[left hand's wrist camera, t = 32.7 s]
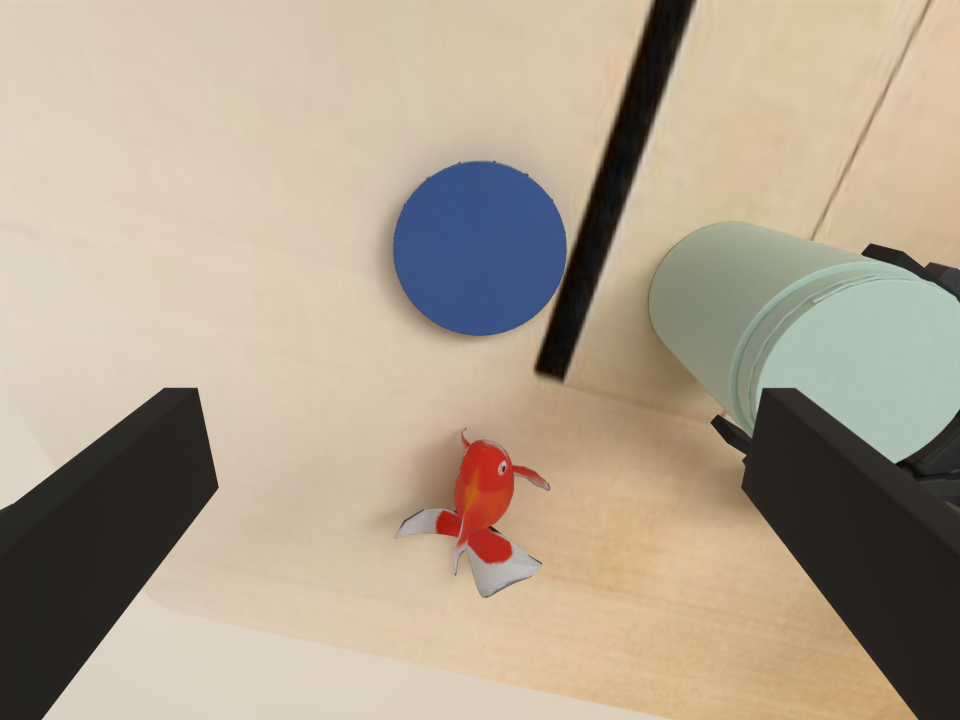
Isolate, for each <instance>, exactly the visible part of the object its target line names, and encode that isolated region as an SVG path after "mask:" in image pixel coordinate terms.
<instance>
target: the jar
mask: <svg viewBox="0 0 960 720" xmlns="http://www.w3.org/2000/svg"><path fill="white" fill-rule="evenodd" d="M648 307H649V315H650V319H651V323H652V326H653V328H654V331H655V332H656V334H657V336H658V337H659V339H660V340H661V341H662V342H663V344H664V345H665V346H666V347H667V348H668V349H669V350H670V351H671V352H672V354H673V355H674V356H675V357H676V358H677V359H678V360H679V361H680V362H681V363H682V364H683V365H684V366H685V368H686V369H687V370H688V371H689V372H690V373H691V374H692V375H693V376H694V377H695V378H696V379H697V381H698V382H699V383H700V384H701V385H702V386H703V387H704V388H705V389H706V390H707V391H708V392H709V393H710V395H711V396H712V397H713V398H714V399H715V400H716V401H717V402H718V403H719V404H720V405H721V406H722V408H723V409H724V410H725V411H726V412H727V413H728V414H729V415H730V416H731V417H732V418H733V419H734V421H735V422H736V423H737V424H738V425H739V426H740V427H741V428H742V429H743V430H744V431H745V432H746V433H747V435H748V436H750V437H751V438H752V435H753V430H754V426H755V421H756V416H757V411H758V407H759V402H760V397H761V393H762V388H796V389H798V390H799V391H800V392H802V393H803V394H804V395H806V396H807V397H808V398H809V399H811V400H812V401H813V402H815V403H816V404H817V405H819V406H820V407H821V408H822V409H824V410H825V411H826V412H828V413H829V414H830V415H832V416H833V417H834V418H835V419H837V420H838V421H839V422H841V423H842V424H843V425H845V426H846V427H847V428H849V429H850V430H851V431H852V432H854V433H855V434H856V435H858V436H859V437H860V438H862V439H863V440H864V441H865V442H867V443H868V444H869V445H871V446H872V447H873V448H875V449H876V450H877V451H878V452H880V453H881V454H882V455H884V456H885V457H886V458H888V459H889V460H890V461H891V462H893V463H894V464H895V463H897V462H899V461H901V460H903V459H905V458H907V457H908V456H910V455H912V454H913V453H915V452H917V451H918V450H920V449H921V448H922V447H924V446H925V445H926V444H928V443H929V442H930V441H932V440H933V439H934V438H935V437H936V436H937V435H938V434H939V433H940V432H941V431H942V430H943V429H944V428H945V427H946V426H947V425H948V424H949V423H950V421H951V420H952V419H953V418H954V416H955V415H956V413H957V412H958V411H959V409H960V303H959V301H958V300H957V299H956V297H955V296H953V295H952V294H950V293H949V292H947V291H946V290H944V289H943V288H941V287H939V286H938V285H936V284H935V283H933V282H929V281H926V280H923V279H921V278H919V277H918V276H917V275H915V274H913V273H912V272H910V271H908V270H906V269H904V268H901V267H898V266H895V265H892V264H889V263H885V262H882V261H878V260H875V259H872V258H868V257H865V256H861V255H858V254H854V253H851V252H847V251H844V250H840V249H837V248H833V247H830V246H826V245H823V244H820V243H816V242H813V241H809V240H806V239H802V238H799V237H795V236H792V235H788V234H785V233H781V232H778V231H774V230H771V229H768V228H764V227H761V226H757V225H754V224H749V223H744V222H723V223H718V224H713V225H710V226H707V227H704V228H702V229H700V230H698V231H696V232H694V233H692V234H690V235H689V236H687V237H686V238H684V239H683V240H682V241H680V242H679V243H678V244H677V245H676V246H675V247H674V248H673V249H672V250H671V251H670V252H669V253H668V254H667V255H666V257H665V258H664V259H663V261H662V262H661V264H660V266H659V267H658V269H657V271H656V273H655V276H654V278H653V281H652V284H651V287H650V293H649V306H648Z"/></svg>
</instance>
